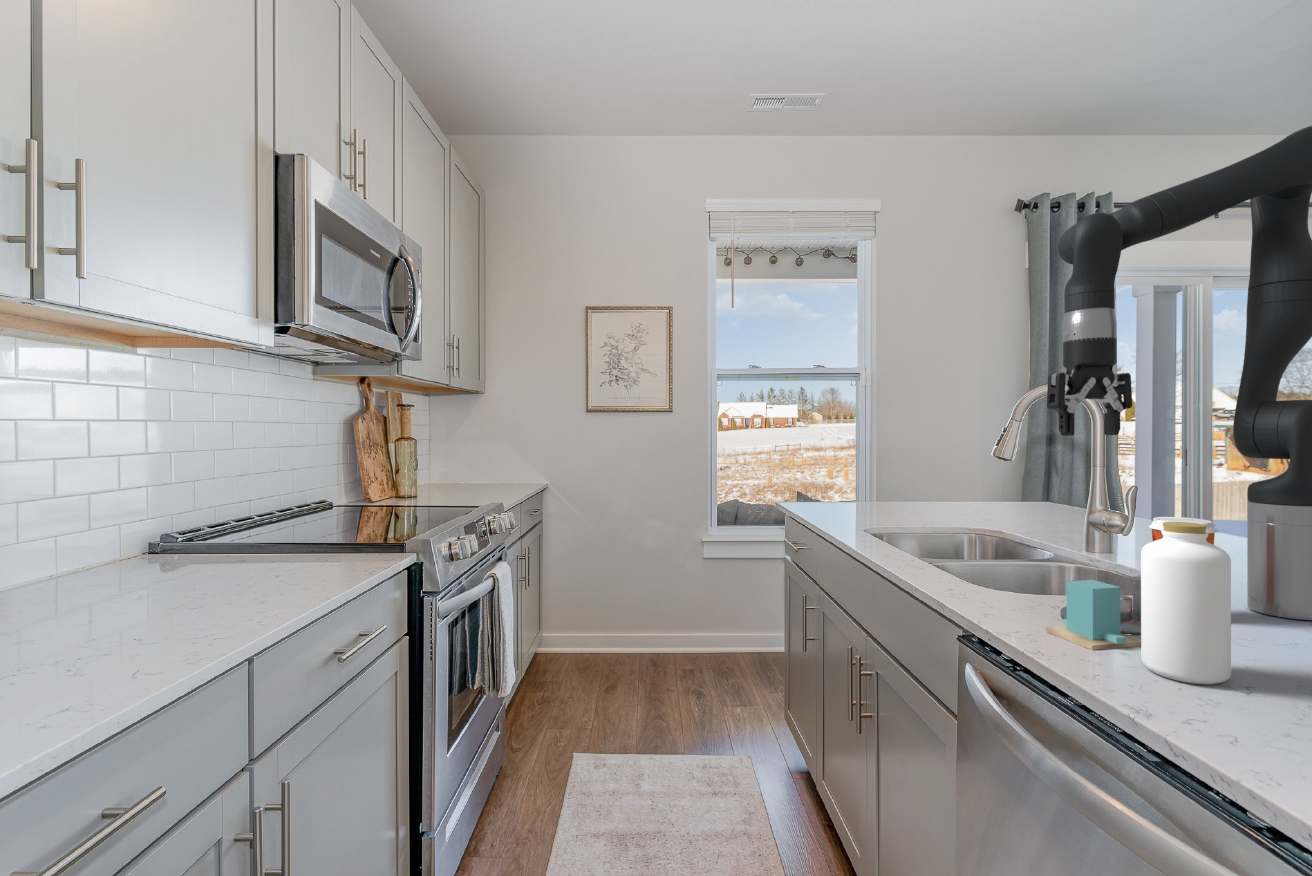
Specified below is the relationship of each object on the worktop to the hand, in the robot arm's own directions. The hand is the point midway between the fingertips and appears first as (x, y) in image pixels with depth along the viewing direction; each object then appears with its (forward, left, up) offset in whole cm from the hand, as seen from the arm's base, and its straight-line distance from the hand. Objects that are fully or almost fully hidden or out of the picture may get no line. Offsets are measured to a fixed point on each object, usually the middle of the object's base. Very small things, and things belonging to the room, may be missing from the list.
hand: (1089, 435), depth 108 cm
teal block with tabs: (+15, +16, -28) cm, 35 cm away
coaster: (+15, +16, -28) cm, 36 cm away
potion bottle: (+15, +29, -28) cm, 43 cm away
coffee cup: (-7, +10, -28) cm, 31 cm away
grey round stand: (+6, +10, -28) cm, 30 cm away
